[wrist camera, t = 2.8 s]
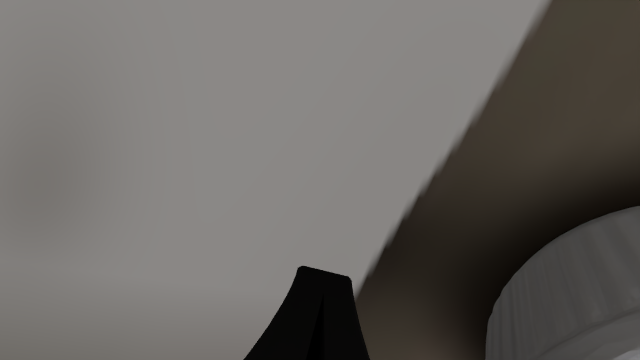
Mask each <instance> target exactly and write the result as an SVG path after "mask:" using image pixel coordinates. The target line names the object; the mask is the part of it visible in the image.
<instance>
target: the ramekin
mask: <svg viewBox="0 0 640 360" xmlns="http://www.w3.org/2000/svg"><path fill="white" fill-rule="evenodd" d="M485 360H640V206H636V207H631V208H627V209H623V210H620V211H616V212H613V213H609V214H607V215H604V216H601V217H598V218H596V219H593V220H590V221H588V222H586V223H584V224H581V225H579V226H577V227H575V228H574V229H572V230H570V231H568V232H566V233H564V234H562V235H560V236H559V237H557V238H555V239H554V240H553V241H551V242H550V243H548V244H547V245H545V246H544V247H543V248H542V249H540V250H539V251H538V252H537V253H536V254H534V255H533V256H532V257H531V258H530V259H529V260H528V261H527V262H526V263H525V264H524V265H523V266H522V267H521V268H520V269H519V270H518V271H517V272H516V273H515V274H514V275H513V277H512V278H511V280H510V281H509V282H508V283H507V284H506V286H505V287H504V288H503V290H502V292H501V295H500V297H499V298H498V299H497V301H496V302H495V304H494V307H493V312H492V314H491V316H490V318H489V321H488V326H487V336H486V358H485Z"/></svg>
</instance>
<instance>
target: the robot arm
mask: <svg viewBox="0 0 640 360" xmlns="http://www.w3.org/2000/svg"><path fill="white" fill-rule="evenodd" d="M244 360H370V358H369V355H368V352H367V348H366V345H365V342H364V338H363V335H362V331H361V327H360V324H359V319H358V315H357V311H356V306H355V301H354V296H353V289H352V281H351V279H350V278H349V277H348V276H344V275H340V274H335V273H331V272H327V271H323V270H319V269H315V268H310V267H307V266H301V267H299V268H298V270H297V273H296V276H295V279H294V281H293V284H292V286H291V288H290V290H289V292H288V294H287V296H286V298H285V300H284V301H283V303H282V305H281V306H280V308H279V310H278V311H277V313H276V315H275V316H274V318H273V319H272V321H271V323H270V324H269V326H268V327H267V329H266V330H265V331H264V333H263V334H262V336H261V337H260V338H259V340H258V341H257V343H256V344H255V345H254V347H253V348H252V349H251V351H250V352H249V354H248V355H247V356H246V357H245V359H244Z"/></svg>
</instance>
